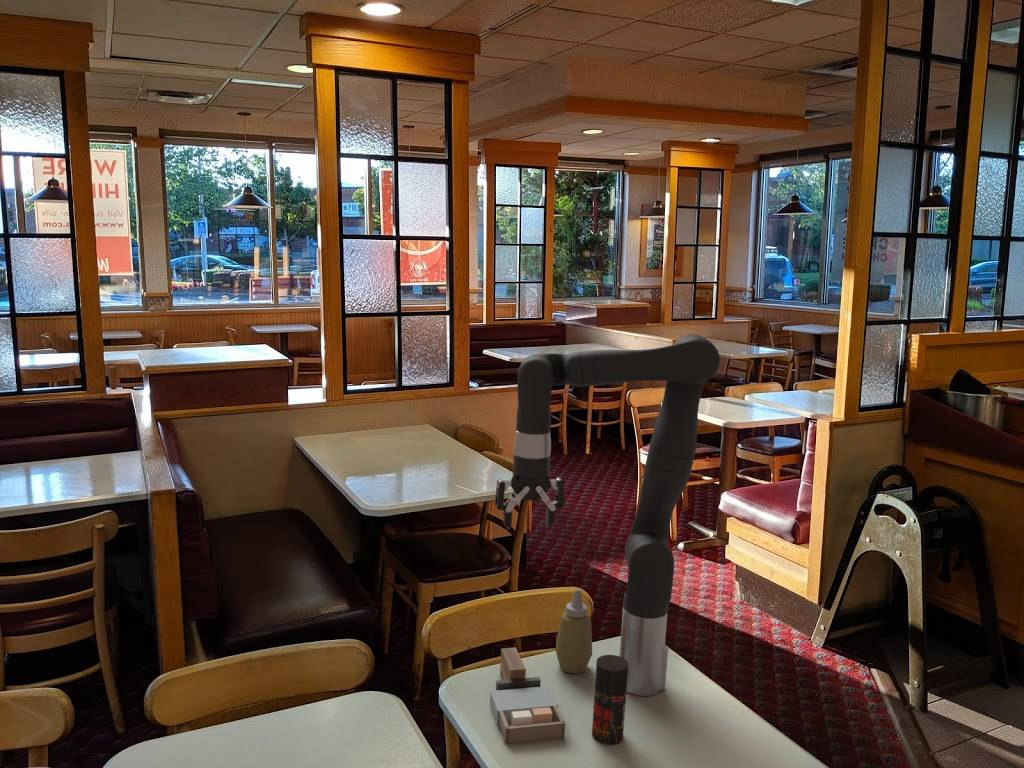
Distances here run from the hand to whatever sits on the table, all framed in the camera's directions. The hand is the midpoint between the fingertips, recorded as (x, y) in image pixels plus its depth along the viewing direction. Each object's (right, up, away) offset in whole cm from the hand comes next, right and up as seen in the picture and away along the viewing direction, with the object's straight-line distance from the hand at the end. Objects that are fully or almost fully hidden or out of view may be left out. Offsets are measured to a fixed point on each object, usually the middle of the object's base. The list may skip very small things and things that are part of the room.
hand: (528, 527), depth 168 cm
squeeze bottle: (+10, -33, +9) cm, 35 cm away
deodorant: (+15, -37, -15) cm, 43 cm away
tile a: (+2, -34, -14) cm, 36 cm away
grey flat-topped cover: (-1, -35, -8) cm, 36 cm away
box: (0, -36, -15) cm, 39 cm away
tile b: (-2, -34, -15) cm, 37 cm away
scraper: (-3, -33, +1) cm, 34 cm away
